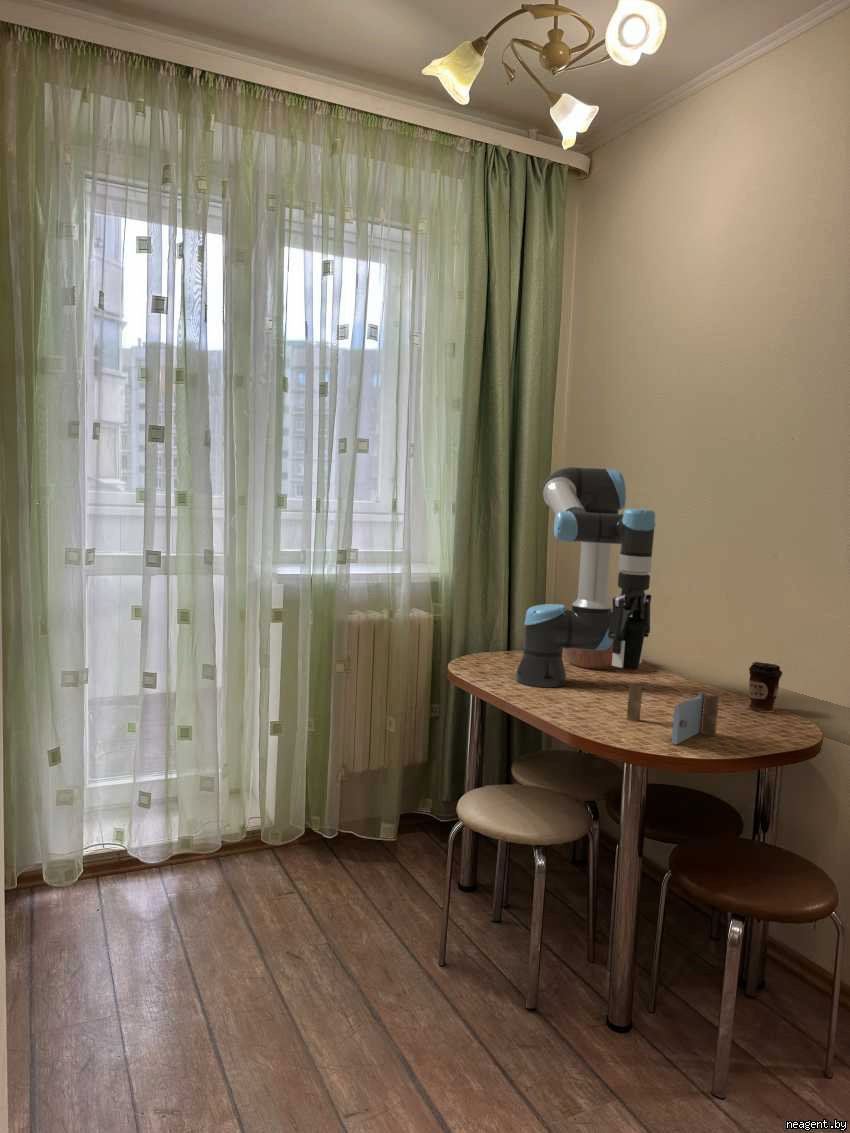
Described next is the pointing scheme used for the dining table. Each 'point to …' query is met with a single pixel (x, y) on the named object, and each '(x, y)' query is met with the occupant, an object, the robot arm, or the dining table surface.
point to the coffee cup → (763, 686)
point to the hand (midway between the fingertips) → (626, 664)
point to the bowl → (591, 658)
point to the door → (688, 719)
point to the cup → (633, 643)
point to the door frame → (708, 713)
